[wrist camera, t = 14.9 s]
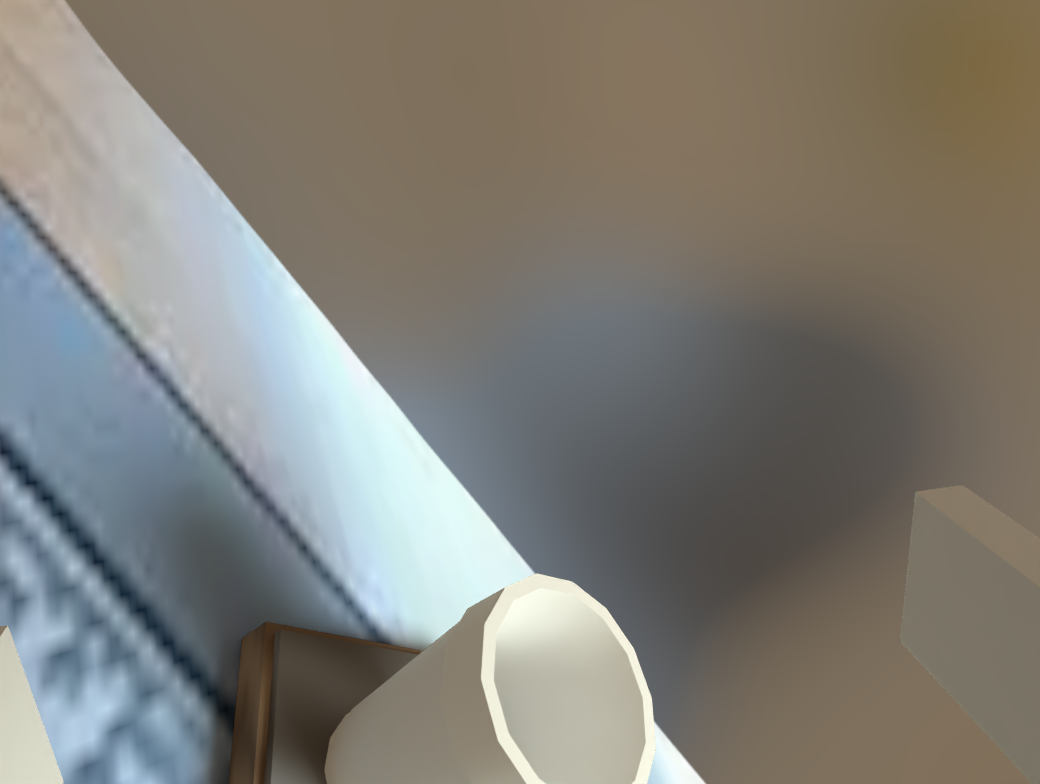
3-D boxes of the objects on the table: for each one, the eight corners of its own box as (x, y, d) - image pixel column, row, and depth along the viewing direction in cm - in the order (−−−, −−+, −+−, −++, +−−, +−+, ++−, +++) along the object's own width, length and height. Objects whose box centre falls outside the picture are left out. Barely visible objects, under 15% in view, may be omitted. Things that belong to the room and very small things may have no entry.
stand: (242, 638, 41) (272, 617, 40) (448, 673, 49) (480, 657, 47) (212, 950, 34) (248, 941, 32) (462, 934, 41) (501, 926, 39)
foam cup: (278, 684, 38) (453, 579, 31) (431, 659, 45) (605, 568, 37) (318, 916, 34) (530, 858, 27) (480, 851, 41) (684, 790, 34)
